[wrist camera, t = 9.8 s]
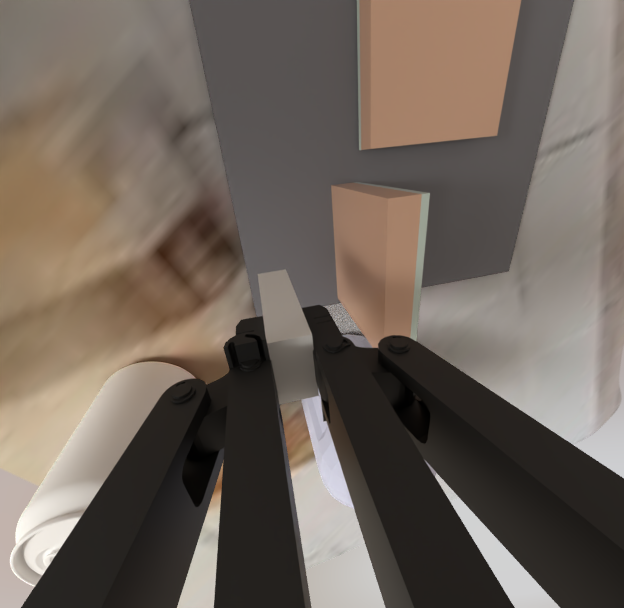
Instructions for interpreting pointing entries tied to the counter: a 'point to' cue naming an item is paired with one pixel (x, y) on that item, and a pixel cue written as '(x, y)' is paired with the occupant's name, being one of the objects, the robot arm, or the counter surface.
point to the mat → (345, 141)
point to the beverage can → (87, 463)
